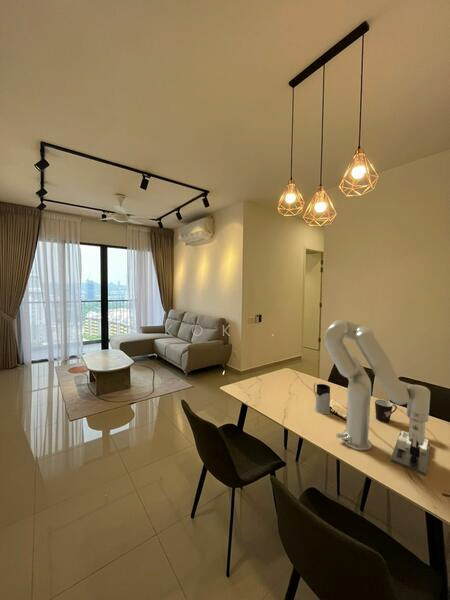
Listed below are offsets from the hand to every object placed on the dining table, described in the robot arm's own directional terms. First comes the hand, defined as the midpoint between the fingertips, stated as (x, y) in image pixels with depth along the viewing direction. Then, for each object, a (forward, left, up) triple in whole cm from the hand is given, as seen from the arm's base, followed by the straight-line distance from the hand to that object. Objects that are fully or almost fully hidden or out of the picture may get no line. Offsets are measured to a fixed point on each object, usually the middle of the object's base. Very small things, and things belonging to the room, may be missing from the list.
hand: (414, 454), depth 110 cm
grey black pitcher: (-23, +45, -3) cm, 51 cm away
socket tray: (+7, +10, -1) cm, 12 cm away
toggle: (-1, +6, -1) cm, 6 cm away
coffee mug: (+9, +31, -3) cm, 33 cm away
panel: (+2, +4, -2) cm, 5 cm away
